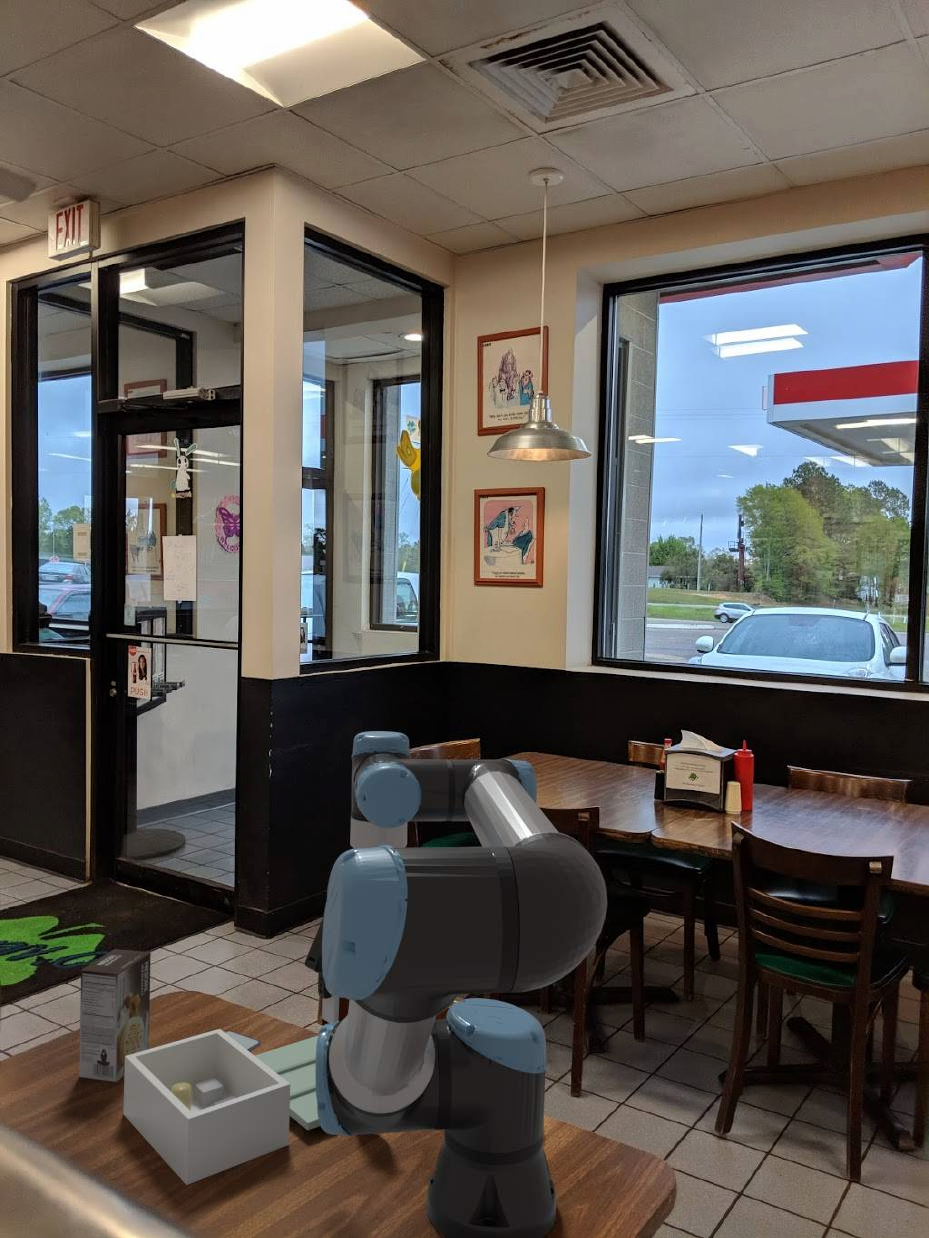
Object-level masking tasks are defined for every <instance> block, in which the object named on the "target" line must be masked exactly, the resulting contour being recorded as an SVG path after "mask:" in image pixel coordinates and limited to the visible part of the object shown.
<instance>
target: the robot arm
mask: <svg viewBox="0 0 929 1238" xmlns="http://www.w3.org/2000/svg"><path fill="white" fill-rule="evenodd" d="M352 746H353V747H352V754H351V760H352V762H351V763H352V764H351V765H352V767H351V769H352V770H351V811H350V840H349V841H350V842H349V844H350V846H351V847H352V848H351V849H348V850H346V851H344V852H342V853H341V854H340V855H339V856H338V858H337V859H336V860H335V862H334V864H333V866H332V870H331V872H330V876H329V879H328V883H327V884H328V885H327V891H326V895H327V896H326V902H325V905H324V906H325V907H324V911H323V917H322V920H321V922H320V924H319V926H318V929H317V932H316V933H315V936H314V938H313V941H312V943H311V946H310V948H309V951H308V953H307V955H306V958H305V960H304V966H305V967H307V968H308V969H310V970H311V971H312V972H315V973H318V978H317V980H318V981H317V982H318V983H317V993H318V996H319V997H321V998H322V1001H321V1002H322V1004H321V1005H322V1006H321V1018H322V1020H324V1021H325V1022H327V1023H326V1024H324V1025H322V1026H321V1027H320V1029H319V1031H318V1035H317V1036H318V1039H317V1046H316V1065H315V1081H316V1098H317V1113H318V1119H319V1123H320V1125H321V1126H320V1128H321V1129H322V1130H323V1132H325V1133H326V1134H328V1135H331V1136H332V1135H337V1136H340V1135H341V1136H345V1137H355V1136H357V1135H374V1134H375V1135H377V1134H391V1133H405V1132H406V1133H407V1132H408V1133H409V1132H423V1131H444V1135H443V1136H444V1137H443V1143H442V1145H441V1148H440V1150H439V1153H438V1157H437V1160H436V1165H435V1168H434V1171H433V1172H432V1174H431V1176H430V1179H429V1181H428V1186H427V1196H426V1197H427V1199H426V1200H427V1201H426V1202H427V1203H426V1210H427V1211H426V1212H427V1215H428V1217H429V1220H430V1223H431V1224H432V1225H433V1227H435V1229H436V1230H437V1231H438V1232H439V1233H440V1234H441V1235H443V1236H444V1237H446V1238H544V1237H545V1236H547V1234H548V1233H549V1232H550V1231H551V1230H552V1228H553V1226H554V1225H555V1223H556V1216H557V1192H556V1188H555V1184H554V1182H553V1180H552V1174H551V1170H550V1167H549V1166H550V1165H549V1163H548V1158H547V1156H546V1151H545V1150H544V1149H545V1148H544V1126H545V1099H546V1097H545V1096H546V1072H547V1071H546V1070H547V1069H548V1059H547V1045H546V1044H547V1043H546V1033H545V1029H544V1028H543V1026H542V1024H541V1023H540V1021H538V1019H537V1018H536V1017H534V1015H532V1014H531V1013H530V1012H528V1011H526V1010H525V1009H523V1008H521V1007H518V1006H516V1005H514V1004H511V1003H508V1002H505V1001H501V1000H497V999H491V998H490V999H489V998H481V997H480V998H478V997H473V998H465V999H463V1000H461V1001H460V1000H459V1001H456V999H457V998H458V996H460V995H473V994H475V995H477V994H478V995H479V994H480V995H481V994H502V993H503V994H504V993H507V994H508V993H510V994H511V993H525V992H529V991H534V990H537V989H541V988H544V987H547V986H549V985H552V984H553V983H556V982H557V981H559V980H561V979H563V978H564V977H565V976H567V975H568V974H569V973H571V972H572V971H573V970H574V969H576V968H577V967H578V966H579V965H580V964H581V963H582V962H583V960H584V959H585V958H586V957H587V956H588V955H589V953H590V952H591V951H592V949H593V948H594V947H595V945H596V943H597V940H598V938H599V937H600V935H601V933H602V929H603V926H604V923H605V920H606V914H607V908H608V895H607V894H608V892H607V887H606V881H605V879H604V876H603V874H602V871H601V869H600V866H599V865H598V863H597V862H596V860H595V859H594V858H593V856H592V855H591V854H590V852H588V850H587V849H586V848H585V846H584V845H583V844H581V842H579V841H578V840H576V839H575V838H574V837H572V836H569V835H568V834H564V833H562V832H559V831H558V829H557V828H556V827H555V826H554V824H553V823H552V822H551V821H550V820H549V819H548V817H547V816H546V815H545V813H544V812H543V811H542V810H541V808H540V807H539V806H538V804H537V800H538V798H537V797H538V788H537V786H538V785H537V778H536V775H535V770H534V767H533V766H532V765H531V763H530V762H528V761H526V760H516V759H508V758H504V757H503V758H498V759H438V758H437V759H431V758H429V759H423V758H421V759H419V758H418V759H417V758H411V753H410V739H409V737H408V736H407V735H406V734H405V733H402V732H396V731H383V730H381V731H379V730H377V731H375V730H374V731H372V730H371V731H364V732H363V731H362V732H360V733H357V734H356V735H355V736H354V739H353V744H352ZM409 822H470V823H471V826H472V828H473V830H474V832H475V834H476V837H477V838H478V840H479V842H480V844H481V846H454V847H453V846H450V847H449V846H446V847H445V846H443V847H442V846H440V847H438V846H437V847H434V846H433V847H430V846H429V847H407V845H408V823H409ZM340 998H343V999H344V998H345V999H347V1000H349V1002H348V1013H347V1015H346V1016H345V1018H343V1019H342V1020H339V1019H340V1018H339V1015H340V1013H339V1012H340ZM455 1001H456V1002H455ZM447 1009H448V1011H447V1012H446V1017H445V1018H444V1019H440V1018H439V1019H436V1018H437V1016H439V1015H440V1014H442V1013H443V1012H444V1011H446V1010H447ZM376 1133H377V1134H376Z"/></svg>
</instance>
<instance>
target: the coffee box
mask: <svg viewBox="0 0 929 1238" xmlns="http://www.w3.org/2000/svg"><path fill="white" fill-rule="evenodd" d="M151 954H152V952H150V951H139V950H138V951H137V950H130V949H120V948H119V949H118V948H114V949H112V950H110V951H109V952H108V953H106V954H105V955H103V956H101V957H100V958H97V959H96V960H95V961H93V962H91V963H89V965H87V966H85V967H83V968H82V969H81V970H80V1001H79V1002H80V1005H79V1006H80V1007H79V1008H80V1009H79V1010H80V1011H79V1016H80V1017H79V1058H78V1059H79V1061H78V1062H79V1064H78V1065H79V1067H78V1070H79V1071H78V1072H79V1073H78V1076H79V1077H80V1078H84V1079H89V1080H90V1079H91V1080H99V1081H106V1082H112V1083H113V1082H114V1083H117V1082H119V1081H120V1080H121V1079H122V1078H123V1077H124V1076H125V1056H127V1055H131V1054H134V1053H137V1052H141V1051H144V1050H148V1049H150V1010H151V1009H150V1005H151V1003H150V1001H151Z"/></svg>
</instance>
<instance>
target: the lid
mask: <svg viewBox="0 0 929 1238" xmlns="http://www.w3.org/2000/svg"><path fill="white" fill-rule="evenodd" d="M317 1039H318V1035H316V1036H313V1037H309V1038H306V1039H303V1040H300V1041H299V1040H298V1041H297V1042H294V1043H290V1044H287V1045H284V1046H283V1045H282V1046H281V1047H277V1048H274V1049H272V1050H271V1049H270V1050H267V1051H265V1052H262V1053H258V1054H255V1055H254V1056H255V1057H257V1058H258V1059H259V1060H261V1061H262V1062H263V1063H264V1064H266V1065H267V1066H268V1067H269V1068H271V1069H272V1070H273V1071H275V1072H276V1073H277V1074H278V1075H280V1076H281V1077H282V1078H283V1079H285V1080H286V1081H287V1082H289V1083H290V1114H289V1117H290V1118H292V1119H293V1120H294V1121H296V1122H297V1123H298V1125H300V1126H301V1127H303V1128H304V1129H306V1131H311V1130H314V1129H316V1128H319V1127H321V1125H320V1123H319V1119H318V1113H317V1098H316V1081H315V1065H316V1046H317ZM377 1134H378V1133H376V1134H373V1135H377Z"/></svg>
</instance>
